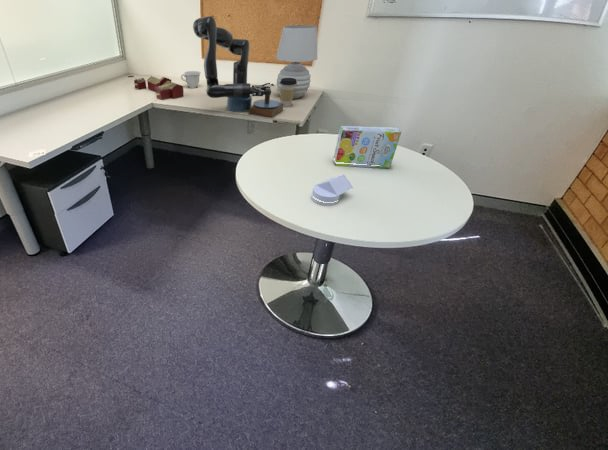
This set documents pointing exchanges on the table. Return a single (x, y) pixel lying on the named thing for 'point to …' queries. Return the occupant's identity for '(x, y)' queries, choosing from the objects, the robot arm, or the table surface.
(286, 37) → the table lamp
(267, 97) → the lid
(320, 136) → the table surface
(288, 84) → the coffee cup
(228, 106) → the bowl
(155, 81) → the toy houses
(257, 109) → the board
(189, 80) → the teacup
